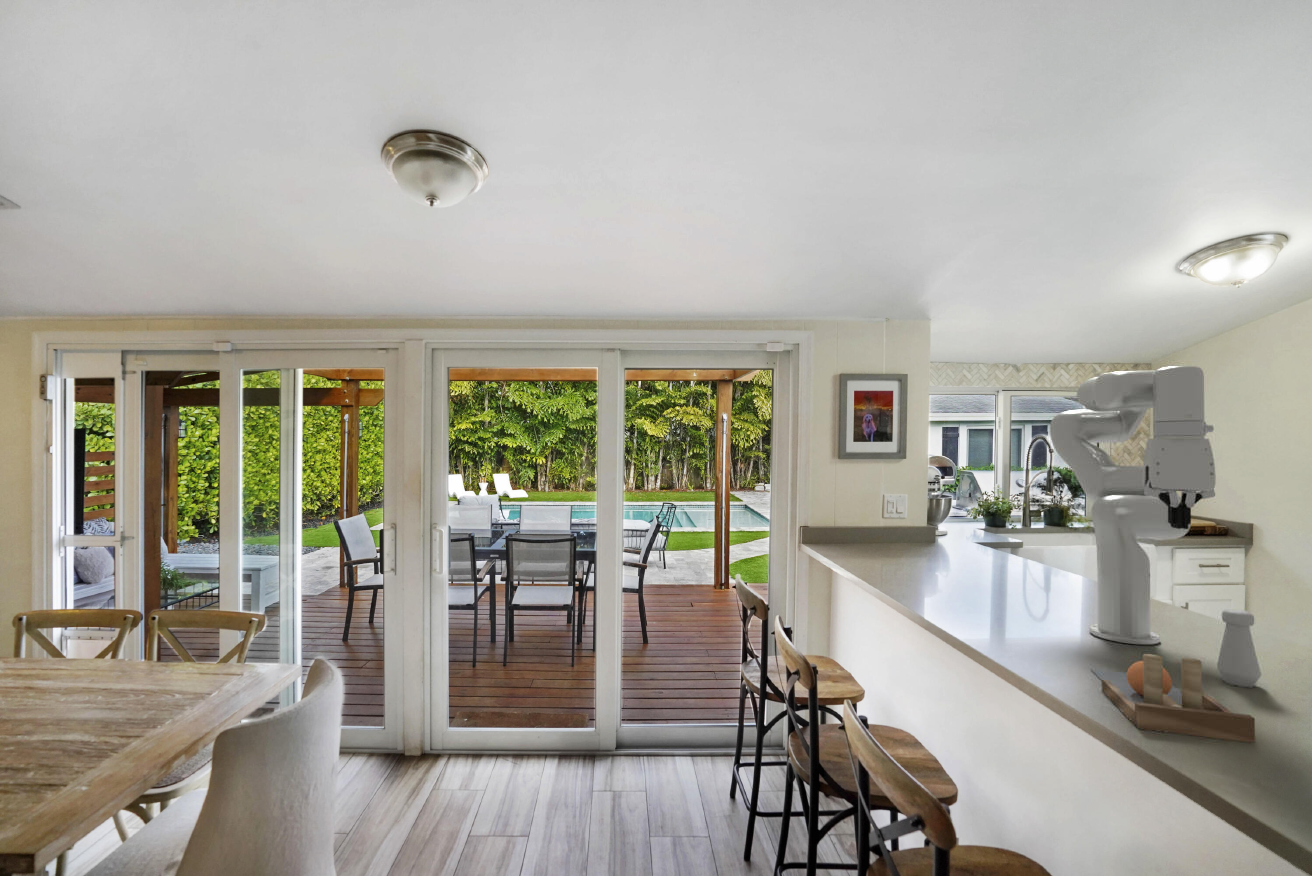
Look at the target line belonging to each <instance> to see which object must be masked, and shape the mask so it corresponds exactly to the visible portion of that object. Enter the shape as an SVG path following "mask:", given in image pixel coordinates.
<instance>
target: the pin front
mask: <svg viewBox="0 0 1312 876" xmlns="http://www.w3.org/2000/svg"><path fill="white" fill-rule="evenodd" d="M1163 705H1165V706H1174V707H1181V706H1180V705H1179V704H1178V703H1177V702H1175V701H1174V700H1173V699H1172V698H1171V697H1170V696H1168V695H1166V694H1163Z"/></svg>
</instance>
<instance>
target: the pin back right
mask: <svg viewBox="0 0 1312 876" xmlns="http://www.w3.org/2000/svg"><path fill="white" fill-rule="evenodd" d="M1142 661H1143V676H1144V703H1147V704H1156V705H1163V668H1164V667H1163V664H1164V663H1163V657H1162V656H1160V655H1157V654H1153V653H1152V654H1151V653H1144V654H1143V660H1142Z"/></svg>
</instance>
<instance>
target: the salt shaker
mask: <svg viewBox="0 0 1312 876" xmlns="http://www.w3.org/2000/svg"><path fill="white" fill-rule="evenodd" d="M1221 619H1222V621H1223V623H1225V627H1224V632H1223V636H1222V641H1221V645H1220V649H1219V655H1218V660H1217V663H1216V667H1217V671H1218V673H1219V675H1220V676H1221V678H1222V680H1223V681H1224V682H1225V683H1226V684H1229V685H1233V686H1236V685H1237V686H1236V687H1240V688H1253V687H1254V686H1255V684H1256V683H1257V682H1258V681H1259V679H1260V678H1261V677H1262V672H1261V669H1260V665H1259V662H1258V656H1257V655H1256V649H1255V645H1254V641H1253V635H1252V632H1251V627H1253V626H1254V625H1255V616H1254V614H1252V612H1249V611H1246V610H1242V609H1236V608H1227V609H1224V610H1222V612H1221Z"/></svg>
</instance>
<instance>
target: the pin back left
mask: <svg viewBox="0 0 1312 876" xmlns="http://www.w3.org/2000/svg"><path fill="white" fill-rule="evenodd" d="M1180 661H1181V666H1180V667H1181V692H1182V707H1183V708H1192V709H1201V710H1202V709H1203V708H1202V691H1203V687H1202V686H1203V685H1202V679H1203V676H1202V673H1203V672H1202V660H1200V659H1197V658H1193V657H1181V659H1180Z"/></svg>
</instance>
